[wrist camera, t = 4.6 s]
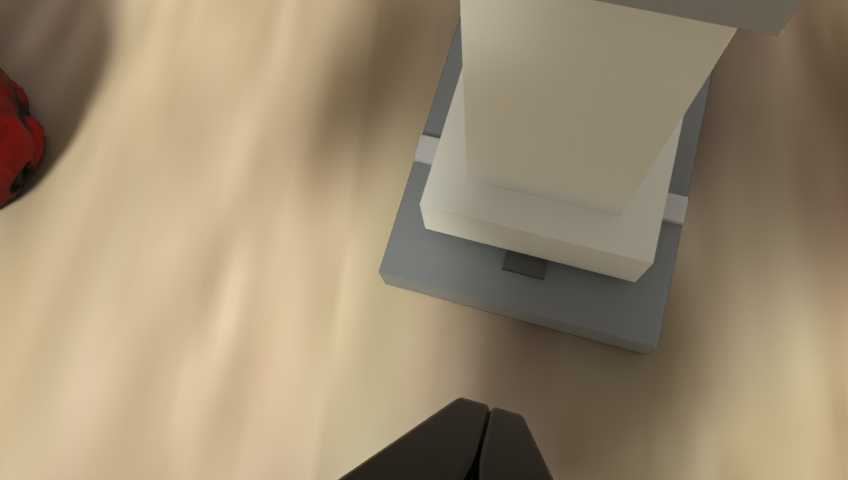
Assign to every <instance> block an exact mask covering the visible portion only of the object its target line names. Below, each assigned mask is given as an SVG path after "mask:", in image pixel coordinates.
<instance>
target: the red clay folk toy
mask: <svg viewBox="0 0 848 480" xmlns="http://www.w3.org/2000/svg"><path fill="white" fill-rule="evenodd" d="M45 140H46V136H45V135H44V131H43V127H42V126H41V125H40V123H39V122H38V121H37V120H35V119H34V118H32V117H31V115H30V112H29V104H28V99H27V96H26V94H25V92H24V90H23V88H22V87H21V86H19V85H18V84H17V83H15V82H14V81H13V80H10V78H9V76H8V75H7V74H6V73H5V72H4V71H3V70H1V69H0V208H2V207H3V206H5V205H7V204H10V203H11V202H12V201H13V199H14V198H15V196H16V195H17V194H18V193H19V192H20V191H21V189H22V187H23V185H22V182H23V179H22V170H23V169H26V170H29V171H33V170H35V168H36V166H37V164H38V162H39V161H40V159H42V158H43V155H44V152H45Z"/></svg>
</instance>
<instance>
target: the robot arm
mask: <svg viewBox="0 0 848 480" xmlns="http://www.w3.org/2000/svg"><path fill="white" fill-rule="evenodd" d="M488 414H489V415H488ZM487 417H488V419H487ZM486 421H487V423H486ZM485 425H486V427H485ZM484 429H485V430H484ZM483 433H484V434H483ZM482 437H483V438H482ZM481 441H482V442H481ZM480 445H481V446H480ZM479 449H480V450H479ZM474 468H475V469H474ZM473 472H474V473H473ZM472 476H473V477H472ZM338 480H553V478H552V476H551V473H550V471H549V469H548V467H547V465H546V463H545V461H544V459H543V457H542V455H541V453H540V451H539V449H538V447H537V445H536V443H535V441H534V438H533V436H532V434H531V432H530V430H529V428H528V426H527V424H526V422H525V420H524V418H523V417H522V416H521V415H519V414H516V413H513V412H509V411H506V410H503V409H499V408H492V409H491V410H490V412H489V408H488V407H487V405H485V404H482V403H479V402H475V401H472V400H468V399H465V398H458V399H456V400H454V401H453V402H451V403H450V404H448V405H447V406H445V407H444V408H442V409H441V410H440V411H438V412H437V413H435V414H434V415H432V416H431V417H429V418H428V419H426V420H425V421H423V422H422V423H420V424H419V425H418V426H416V427H415V428H413V429H412V430H410V431H409V432H407V433H406V434H404V435H403V436H401V437H400V438H398V439H397V440H396V441H394V442H393V443H391V444H390V445H388V446H387V447H385V448H384V449H382V450H381V451H379V452H378V453H376V454H375V455H374V456H372V457H371V458H369V459H368V460H366V461H365V462H363V463H362V464H360V465H359V466H357V467H356V468H354V469H353V470H351V471H350V472H349V473H347V474H346V475H344V476H343V477H341V478H340V479H338Z"/></svg>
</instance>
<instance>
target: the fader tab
mask: <svg viewBox="0 0 848 480" xmlns="http://www.w3.org/2000/svg"><path fill="white" fill-rule="evenodd" d="M802 1H803V0H460V12H461V37H462V63H463V67H462V70H461V73H460V76H459V80H458V83H457V86H456V89H455V92H454V96H453V99H452V102H451V105H450V109H449V112H448V115H447V118H446V121H445V125H444V128H443V131H442V134H441V137H440V141H439V144H438V147H437V150H436V154H435V157H434V160H433V163H432V166H431V170H430V173H429V176H428V179H427V183H426V186H425V189H424V192H423V195H422V199H421V202H420V208H421V213H422V217H423V221H424V225H425V228H426V229H429V230H433V231H437V232H441V233H445V234H449V235H453V236H457V237H461V238H464V239H468V240H472V241H476V242H480V243H484V244H488V245H492V246H496V247H500V248H503V249H507V250H511V251H515V252H519V253H523V254H527V255H531V256H535V257H538V258H542V259H546V260H550V261H554V262H558V263H562V264H566V265H570V266H573V267H577V268H581V269H585V270H589V271H593V272H597V273H601V274H605V275H608V276H612V277H616V278H620V279H624V280H628V281H632V282H636V281H637V280H638V279H639V278H640V277H641V276H642V275H643V274H644V273H645V271H646V270H647V269H648V268H649V267H650V266H651V265H652V264H653V262H654V257H655V252H656V247H657V243H658V238H659V233H660V228H661V223H662V218H663V214H664V209H665V204H666V199H667V194H668V189H669V185H670V180H671V175H672V170H673V165H674V160H675V156H676V151H677V146H678V141H679V136H680V131H681V127H682V122H683V117H684V114H685V113H686V111H687V109H688V108H689V106H690V105H691V103H692V101H693V100H694V98H695V97H696V95H697V93H698V92H699V90H700V89H701V87H702V85H703V84H704V82H705V81H706V79H707V77H708V76H709V74H710V73H711V71H712V69H713V68H714V66H715V65H716V63H717V61H718V60H719V58H720V57H721V55H722V53H723V52H724V50H725V49H726V47H727V45H728V44H729V42H730V41H731V39H732V37H733V36H734V34H735V33H736V31H737V29H738V28H739V29H744V30H749V31H754V32H759V33H765V34H770V35H775V36H777V35H778V34H779V33H780V31H781V30H782V29H783V27H784V26H785V25H786V23H787V22H788V20H789V19H790V18H791V16H792V15H793V14H794V12H795V11H796V9H797V8H798V7H799V5H800V4H801V3H802Z"/></svg>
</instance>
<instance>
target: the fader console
mask: <svg viewBox="0 0 848 480" xmlns="http://www.w3.org/2000/svg"><path fill="white" fill-rule="evenodd" d="M462 67H463V63H462V37H461V16H460V19H459V22H458V25H457V28H456V31H455V34H454V38H453V41H452V44H451V47H450V50H449V53H448V56H447V60H446V63H445V66H444V69H443V72H442V75H441V78H440V81H439V85H438V88H437V91H436V94H435V97H434V100H433V103H432V107H431V110H430V113H429V116H428V119H427V122H426V125H425V129H424V132H423V135H421V137H420V140H419V143H418V146H417V149H416V152H415V155H414V163H413V166H412V169H411V172H410V176H409V179H408V182H407V185H406V188H405V191H404V194H403V197H402V201H401V204H400V207H399V210H398V213H397V216H396V219H395V223H394V226H393V229H392V232H391V235H390V238H389V241H388V244H387V248H386V251H385V254H384V257H383V260H382V263H381V266H380V270H379V273H380V275H381V277H382V278H383V280H384V282H385V284H388V285H392V286H396V287H399V288H403V289H407V290H411V291H414V292H418V293H422V294H425V295H429V296H433V297H436V298H440V299H444V300H447V301H451V302H455V303H458V304H462V305H466V306H469V307H473V308H477V309H480V310H484V311H488V312H491V313H495V314H499V315H502V316H506V317H510V318H513V319H517V320H521V321H524V322H528V323H532V324H535V325H539V326H543V327H546V328H550V329H554V330H557V331H561V332H565V333H568V334H572V335H576V336H579V337H583V338H587V339H590V340H594V341H598V342H601V343H605V344H609V345H612V346H616V347H620V348H623V349H627V350H631V351H634V352H638V353H642V354H646V353H648V352H650V351H652V350H653V349H655V348H657V347H658V343H659V338H660V333H661V328H662V323H663V318H664V313H665V308H666V303H667V298H668V293H669V288H670V283H671V277H672V272H673V267H674V262H675V257H676V252H677V247H678V242H679V237H680V232H681V227H682V225H683V224H684V220H685V215H686V210H687V205H688V200H689V197H688V192H689V187H690V182H691V177H692V172H693V166H694V161H695V156H696V151H697V146H698V141H699V136H700V131H701V126H702V121H703V116H704V111H705V106H706V101H707V96H708V91H709V86H710V81H711V76H712V71H713V69H712V71H711V73H710V74H709V76H708V77H707V79H706V81H705V82H704V84H703V85H702V87H701V89H700V90H699V92H698V93H697V95H696V97H695V98H694V100H693V101H692V103H691V105H690V106H689V108H688V109H687V111H686V113H685V114H684V117H683V122H682V127H681V131H680V136H679V141H678V146H677V151H676V156H675V160H674V165H673V170H672V175H671V180H670V185H669V189H668V194H667V199H666V204H665V209H664V214H663V218H662V223H661V228H660V233H659V238H658V243H657V247H656V252H655V257H654V262H653V264H652V265H651V266H650V267H649V268H648V269H647V270H646V271H645V273H644V274H643V275H642V276H641V277H640V278H639V279H638V280H637V281H636V282H632V281H628V280H624V279H620V278H616V277H612V276H608V275H605V274H601V273H597V272H593V271H589V270H585V269H581V268H577V267H573V266H570V265H566V264H562V263H558V262H554V261H550V260H546V259H542V258H538V257H535V256H531V255H527V254H523V253H519V252H515V251H511V250H507V249H503V248H500V247H496V246H492V245H488V244H484V243H480V242H476V241H472V240H468V239H464V238H461V237H457V236H453V235H449V234H445V233H441V232H437V231H433V230H429V229H426V228H425V225H424V221H423V217H422V213H421V208H420V202H421V199H422V195H423V192H424V189H425V186H426V183H427V179H428V176H429V173H430V170H431V166H432V163H433V160H434V157H435V154H436V150H437V147H438V144H439V141H440V137H441V134H442V131H443V128H444V125H445V121H446V118H447V115H448V112H449V109H450V105H451V102H452V99H453V96H454V92H455V89H456V86H457V83H458V80H459V76H460V73H461V70H462Z"/></svg>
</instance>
